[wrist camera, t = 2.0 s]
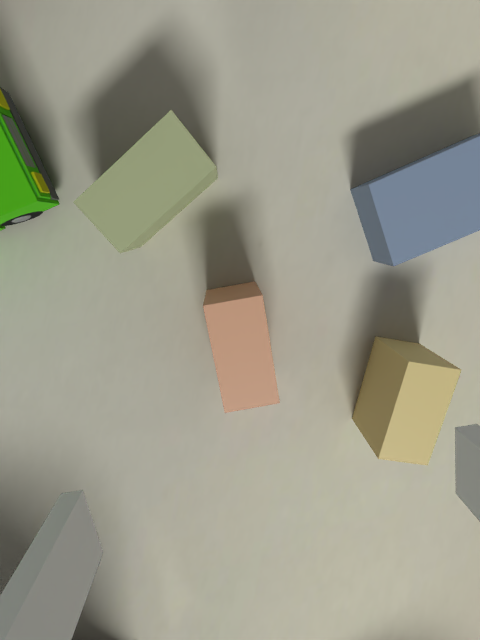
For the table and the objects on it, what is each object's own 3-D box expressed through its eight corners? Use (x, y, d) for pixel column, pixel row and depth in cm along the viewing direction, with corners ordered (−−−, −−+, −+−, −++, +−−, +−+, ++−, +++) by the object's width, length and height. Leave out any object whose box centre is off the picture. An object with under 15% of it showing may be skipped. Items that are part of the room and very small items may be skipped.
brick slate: (372, 260, 30) (393, 266, 26) (349, 189, 29) (368, 184, 25) (488, 211, 30) (528, 209, 26) (471, 136, 28) (511, 122, 24)
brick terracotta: (269, 370, 32) (279, 403, 26) (224, 378, 32) (224, 412, 26) (254, 281, 30) (262, 295, 24) (206, 289, 30) (203, 305, 24)
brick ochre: (392, 424, 34) (427, 465, 28) (351, 418, 34) (378, 458, 28) (418, 343, 32) (461, 369, 26) (375, 336, 32) (408, 361, 26)
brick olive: (140, 247, 29) (120, 253, 23) (104, 206, 28) (73, 202, 22) (217, 178, 28) (216, 166, 22) (182, 133, 27) (171, 109, 21)
